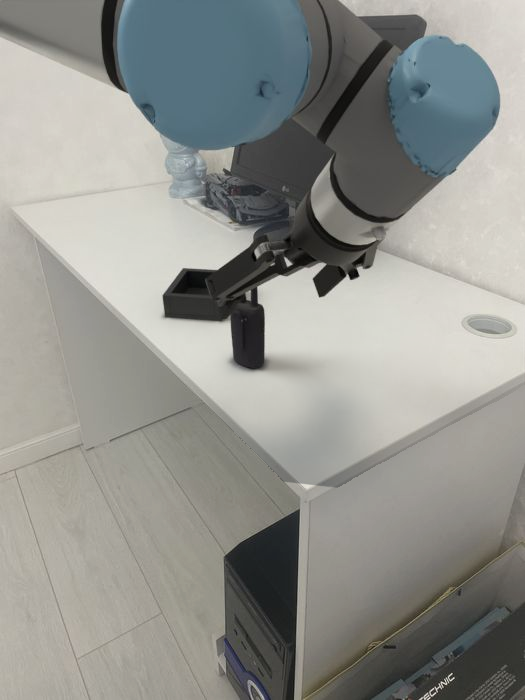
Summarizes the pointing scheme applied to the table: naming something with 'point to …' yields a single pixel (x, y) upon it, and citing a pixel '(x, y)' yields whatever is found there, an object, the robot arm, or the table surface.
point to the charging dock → (190, 296)
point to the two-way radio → (248, 331)
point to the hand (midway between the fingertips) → (271, 297)
